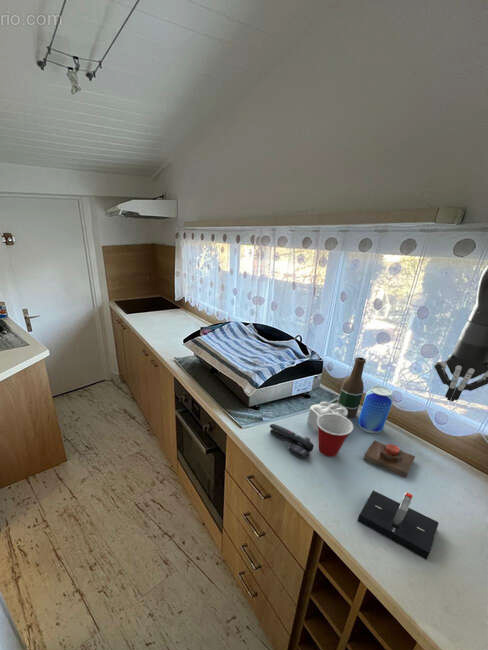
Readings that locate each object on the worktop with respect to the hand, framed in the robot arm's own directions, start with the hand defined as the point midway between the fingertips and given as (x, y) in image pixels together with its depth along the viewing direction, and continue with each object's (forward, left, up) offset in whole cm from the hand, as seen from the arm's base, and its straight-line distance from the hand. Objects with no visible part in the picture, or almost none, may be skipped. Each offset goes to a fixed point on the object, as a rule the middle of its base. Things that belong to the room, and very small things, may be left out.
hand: (450, 399), depth 84 cm
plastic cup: (+24, +12, -25) cm, 37 cm away
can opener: (+35, +17, -25) cm, 47 cm away
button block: (+8, +3, -25) cm, 26 cm away
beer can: (+18, -12, -25) cm, 33 cm away
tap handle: (0, +28, -22) cm, 36 cm away
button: (+8, +3, -21) cm, 23 cm away
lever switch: (0, +28, -25) cm, 38 cm away
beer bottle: (+28, -16, -25) cm, 41 cm away
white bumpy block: (+30, -2, -25) cm, 39 cm away
